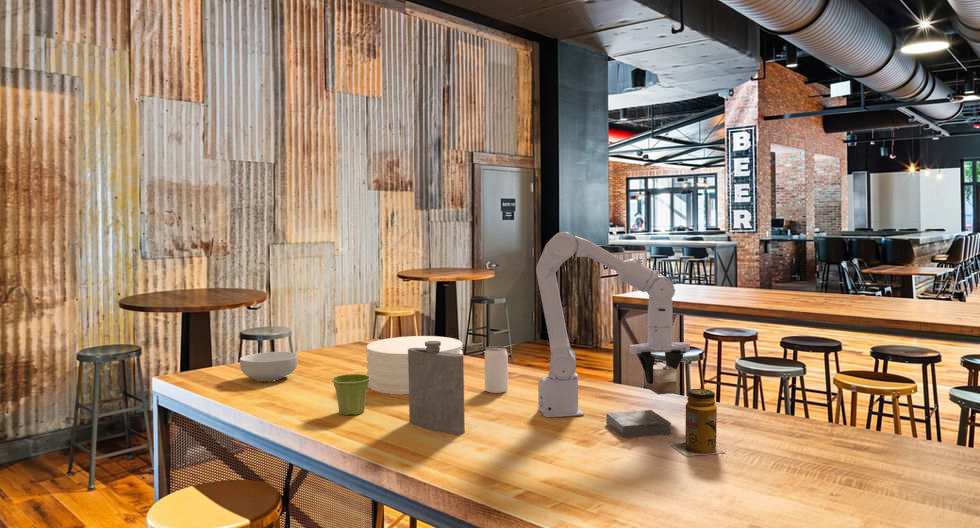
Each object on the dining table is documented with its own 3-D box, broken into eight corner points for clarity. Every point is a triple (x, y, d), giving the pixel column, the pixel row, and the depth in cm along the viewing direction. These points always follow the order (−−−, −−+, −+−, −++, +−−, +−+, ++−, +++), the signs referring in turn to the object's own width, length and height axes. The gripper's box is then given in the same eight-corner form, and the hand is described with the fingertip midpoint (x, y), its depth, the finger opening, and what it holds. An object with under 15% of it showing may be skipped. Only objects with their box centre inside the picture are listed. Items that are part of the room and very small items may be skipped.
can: (505, 394, 179) (505, 350, 178) (482, 393, 180) (482, 350, 179) (510, 388, 185) (509, 346, 184) (487, 387, 186) (486, 345, 186)
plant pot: (353, 405, 170) (352, 372, 170) (379, 410, 165) (378, 376, 164) (324, 413, 163) (323, 379, 162) (351, 420, 157) (350, 384, 157)
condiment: (725, 453, 132) (725, 394, 131) (686, 457, 130) (687, 397, 129) (705, 441, 139) (705, 385, 138) (668, 445, 137) (668, 388, 136)
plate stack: (481, 384, 190) (480, 345, 189) (393, 400, 174) (392, 358, 174) (433, 367, 213) (433, 332, 213) (352, 380, 198) (351, 342, 197)
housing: (658, 394, 154) (657, 369, 153) (643, 386, 161) (643, 362, 161) (676, 393, 154) (676, 367, 154) (661, 384, 162) (661, 360, 162)
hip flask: (467, 431, 147) (466, 343, 146) (455, 436, 144) (454, 346, 143) (416, 419, 157) (414, 336, 156) (404, 423, 154) (402, 339, 152)
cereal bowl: (310, 376, 203) (309, 353, 202) (265, 388, 189) (264, 364, 188) (273, 370, 212) (272, 348, 212) (228, 381, 198) (227, 358, 198)
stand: (623, 437, 142) (622, 426, 142) (606, 423, 152) (606, 413, 151) (670, 433, 144) (670, 422, 144) (651, 420, 154) (651, 410, 153)
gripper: (638, 329, 152) (637, 388, 152) (696, 327, 154) (695, 384, 155) (626, 325, 159) (626, 380, 159) (682, 323, 161) (681, 377, 162)
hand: (659, 382), depth 158 cm, fingers closed on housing, 5 cm apart
